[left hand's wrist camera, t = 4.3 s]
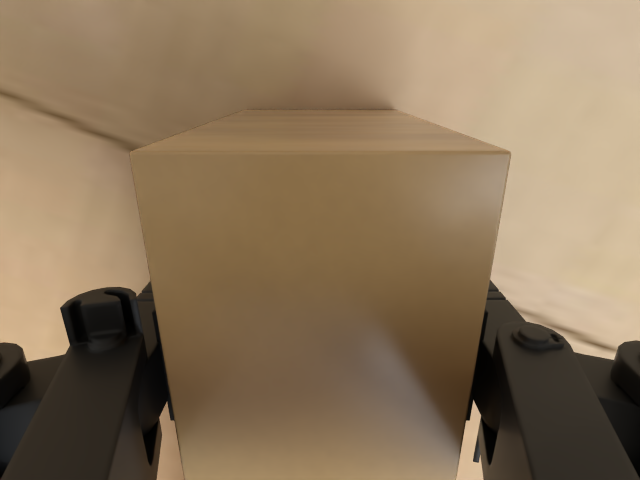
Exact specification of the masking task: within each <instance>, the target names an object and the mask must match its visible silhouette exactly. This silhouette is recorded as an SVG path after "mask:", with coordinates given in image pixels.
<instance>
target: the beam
mask: <svg viewBox="0 0 640 480" xmlns="http://www.w3.org/2000/svg"><path fill="white" fill-rule="evenodd" d="M510 158H511V152H510V151H507V150H505V149H502V148H499V147H496V146H494V145H491V144H488V143H485V142H483V141H480V140H477V139H475V138H472V137H469V136H466V135H464V134H461V133H458V132H455V131H453V130H450V129H447V128H444V127H442V126H439V125H436V124H433V123H431V122H428V121H425V120H422V119H420V118H417V117H414V116H411V115H409V114H406V113H403V112H401V111H398V110H242V111H240V112H237V113H234V114H231V115H229V116H226V117H223V118H221V119H218V120H215V121H212V122H210V123H207V124H204V125H201V126H199V127H196V128H193V129H191V130H188V131H185V132H182V133H180V134H177V135H174V136H171V137H169V138H166V139H163V140H160V141H158V142H155V143H152V144H150V145H147V146H144V147H141V148H139V149H136V150H133V151H131V152H130V161H131V167H132V173H133V179H134V185H135V191H136V196H137V202H138V208H139V214H140V220H141V226H142V232H143V238H144V244H145V250H146V255H147V261H148V267H149V273H150V279H151V285H152V291H153V297H154V303H155V309H156V314H157V320H158V326H159V332H160V338H161V344H162V350H163V356H164V362H165V368H166V373H167V379H168V385H169V391H170V397H171V403H172V409H173V415H174V421H175V427H176V433H177V438H178V444H179V450H180V456H181V462H182V468H183V474H184V480H456V476H457V470H458V464H459V458H460V452H461V447H462V441H463V435H464V429H465V423H466V417H467V411H468V405H469V399H470V393H471V388H472V382H473V376H474V370H475V364H476V358H477V352H478V346H479V340H480V335H481V329H482V323H483V317H484V311H485V305H486V299H487V293H488V287H489V282H490V276H491V270H492V264H493V258H494V252H495V246H496V240H497V234H498V229H499V223H500V217H501V211H502V205H503V199H504V193H505V187H506V181H507V176H508V170H509V164H510Z"/></svg>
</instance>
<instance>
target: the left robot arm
mask: <svg viewBox="0 0 640 480" xmlns="http://www.w3.org/2000/svg"><path fill="white" fill-rule="evenodd" d="M60 309H61V313H62V317H63V321H64V324H65V328H66V332H67V335H68V339H69V343H70V346H69V348H68V350H67V352H66V354H64V355H60V356H56V357H50V358H45V359H40V360H34V361H29V362H27V361H26V358H25V355H24V352H23V349H22V348H21V347H20V346H18V345H17V344H13V343H0V480H156V479H157V471H158V463H159V455H160V447H161V439H162V431H161V425H160V420H159V417H160V415H161V412H162V410H163V408H164V406H165V404H166V402H168V408H169V414H170V420H174V415H173V409H172V403H171V397H170V391H169V385H168V379H167V373H166V368H165V362H164V356H163V350H162V344H161V338H160V332H159V326H158V320H157V314H156V309H155V303H154V297H153V291H152V285H151V281H150V282H149V283H148V285H147V286H146V287H145V288H144V289H143V290H142V293H140V294H139V295H138V296H136V293H135V292H134V291H132V290H131V289H127V288H122V287H106V288H101V289H96V290H91V291H88V292H85V293H82V294H80V295H77V296H76V297H74V298H72V299H70V300H68V301H67V302H66V303H65V304H64V305H63V306H62V307H61V308H60ZM473 399H474V402H475V404H476V406H477V408H478V410H479V412H480V414H481V420H480V425H479V430H478V436H477V441H476V446H475V452H474V458H473V462H478V463H479V458H480V454H481V462H482V470H483V478H484V480H640V341H629V342H624V343H623V344H621V345H620V346H618V350H617V353H616V356H615V359H614V360H611V359H605V358H600V357H594V356H589V355H584V354H579V353H575V352H574V351H573V350H572V348H571V346H570V344H569V343H568V342H567V341H566V339H565V338H564V337H563V336H561V335H560V334H558V333H557V332H555V331H553V330H551V329H549V328H546V327H544V326H541V325H539V324H534V323H529V322H526V321H525V320H524V319H523V318H522V316H521V315H520V314H519V313H518V312H517V311H516V309H515V308H514V307H513V306H512V305H511V304H510V302H509V301H508V300H506V298H505V297H504V295H503V294H502V293H501V292H499V290H498V288H497V287H496V286H495V285H494V284H493V283H492V281H491V280H490V282H489V287H488V293H487V299H486V305H485V311H484V317H483V323H482V329H481V335H480V340H479V346H478V352H477V358H476V364H475V370H474V376H473V382H472V388H471V393H470V399H469V405H468V411H467V417H466V420H470V415H471V410H472V404H473Z"/></svg>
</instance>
